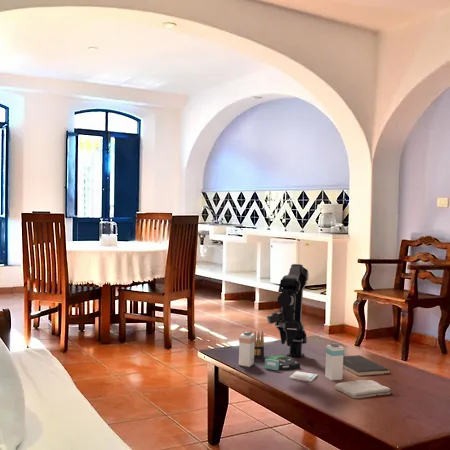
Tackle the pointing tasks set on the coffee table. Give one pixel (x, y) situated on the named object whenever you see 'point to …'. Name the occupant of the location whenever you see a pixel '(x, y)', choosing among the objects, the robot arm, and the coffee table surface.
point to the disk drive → (284, 362)
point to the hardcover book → (362, 366)
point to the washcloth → (362, 388)
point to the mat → (303, 376)
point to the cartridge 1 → (246, 349)
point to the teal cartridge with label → (271, 364)
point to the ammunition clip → (258, 345)
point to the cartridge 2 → (334, 361)
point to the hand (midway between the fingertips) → (285, 345)
